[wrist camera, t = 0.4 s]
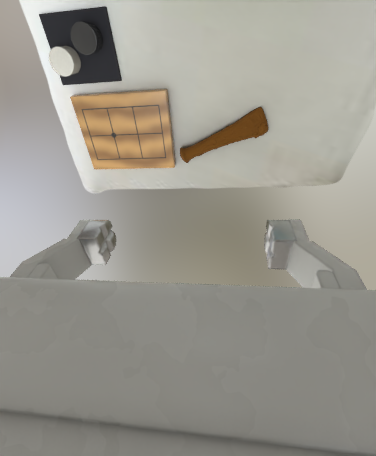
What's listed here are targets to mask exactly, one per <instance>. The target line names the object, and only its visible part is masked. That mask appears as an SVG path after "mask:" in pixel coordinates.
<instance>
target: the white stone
mask: <svg viewBox="0 0 376 456" xmlns="http://www.w3.org/2000/svg"><path fill="white" fill-rule="evenodd" d="M49 61H50V64H51V66H52V68H53V69H54V71H55V72H56V73H58V74H59V75H61V76H70V75H74V74H76V73H78V72H79V70H80V67H81V61H80V58H79V56H78V54H77V52H76V51H75V50H74V49H73V48H71V47H69V46H57V47H53V48H52V49H51V50H50V53H49Z"/></svg>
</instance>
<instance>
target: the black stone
mask: <svg viewBox="0 0 376 456" xmlns="http://www.w3.org/2000/svg"><path fill="white" fill-rule="evenodd" d="M71 39H72V42H73V45H74V46H75V48H76V49H77V50H78V51H79V52H80V53H82V54H85V55H90V54H96V53H98V52H99V51H100V50H101V49H102V46H103V37H102V34H101V32H100V30H99V28H98V27H97V26H96V25H95V24H93V23H91V22H76V23H75V24H74V25H73V26H72V29H71Z"/></svg>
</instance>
